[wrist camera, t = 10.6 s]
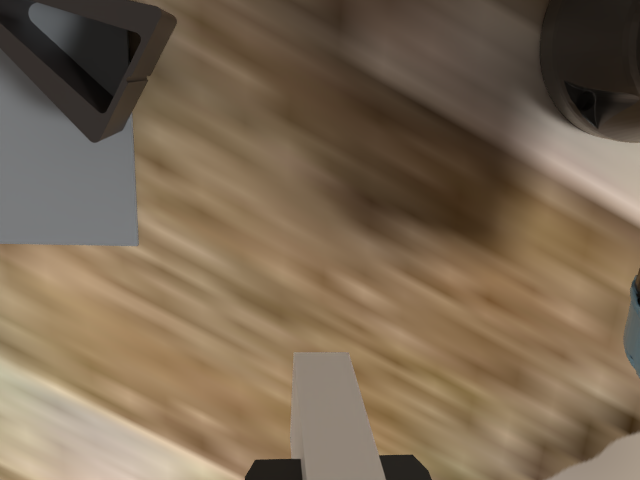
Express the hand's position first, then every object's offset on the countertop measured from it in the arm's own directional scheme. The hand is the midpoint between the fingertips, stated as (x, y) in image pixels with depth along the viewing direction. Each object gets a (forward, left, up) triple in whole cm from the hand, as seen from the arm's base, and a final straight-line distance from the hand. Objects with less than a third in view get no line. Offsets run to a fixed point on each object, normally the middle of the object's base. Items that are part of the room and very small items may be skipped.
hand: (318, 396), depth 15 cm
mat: (+17, -6, -28) cm, 34 cm away
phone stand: (+10, -7, -25) cm, 28 cm away
